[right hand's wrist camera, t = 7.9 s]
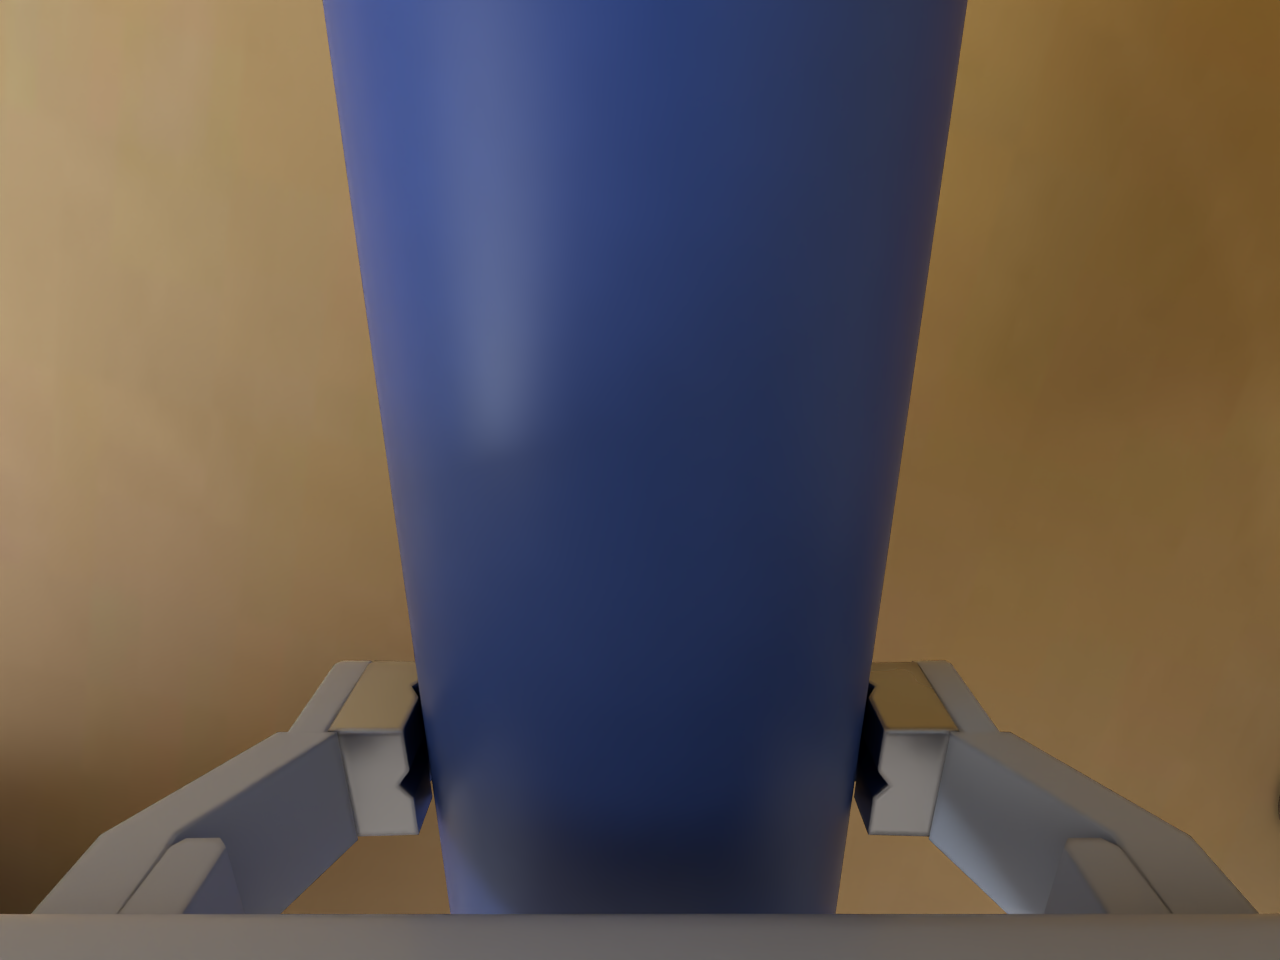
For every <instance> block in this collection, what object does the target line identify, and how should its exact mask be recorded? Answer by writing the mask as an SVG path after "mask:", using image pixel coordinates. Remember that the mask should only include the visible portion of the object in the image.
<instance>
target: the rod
mask: <svg viewBox="0 0 1280 960" xmlns="http://www.w3.org/2000/svg"><path fill="white" fill-rule="evenodd" d="M323 6H324V13H325V21H326V28H327V35H328V42H329V49H330V56H331V63H332V71H333V78H334V85H335V92H336V99H337V106H338V113H339V120H340V128H341V135H342V142H343V149H344V156H345V163H346V170H347V178H348V185H349V192H350V199H351V206H352V213H353V220H354V227H355V235H356V242H357V249H358V256H359V263H360V270H361V277H362V285H363V292H364V299H365V306H366V313H367V320H368V327H369V334H370V342H371V349H372V356H373V363H374V370H375V377H376V384H377V392H378V399H379V406H380V413H381V420H382V427H383V434H384V441H385V449H386V456H387V463H388V470H389V477H390V484H391V491H392V499H393V506H394V513H395V520H396V527H397V534H398V541H399V548H400V556H401V563H402V570H403V577H404V584H405V591H406V598H407V606H408V613H409V620H410V627H411V634H412V641H413V648H414V655H415V663H416V670H417V677H418V684H419V691H420V698H421V705H422V713H423V720H424V727H425V734H426V741H427V748H428V755H429V762H430V770H431V777H432V784H433V791H434V798H435V805H436V812H437V820H438V827H439V834H440V841H441V848H442V855H443V862H444V869H445V877H446V884H447V891H448V898H449V905H450V912H451V914H835V913H836V906H837V899H838V892H839V885H840V878H841V871H842V864H843V858H844V851H845V844H846V837H847V830H848V823H849V816H850V809H851V802H852V795H853V788H854V782H855V775H856V768H857V761H858V754H859V747H860V740H861V733H862V726H863V719H864V712H865V705H866V699H867V692H868V685H869V678H870V671H871V664H872V657H873V650H874V643H875V636H876V629H877V623H878V616H879V609H880V602H881V595H882V588H883V581H884V574H885V567H886V560H887V553H888V546H889V540H890V533H891V526H892V519H893V512H894V505H895V498H896V491H897V484H898V477H899V470H900V464H901V457H902V450H903V443H904V436H905V429H906V422H907V415H908V408H909V401H910V394H911V388H912V381H913V374H914V367H915V360H916V353H917V346H918V339H919V332H920V325H921V318H922V311H923V305H924V298H925V291H926V284H927V277H928V270H929V263H930V256H931V249H932V242H933V235H934V229H935V222H936V215H937V208H938V201H939V194H940V187H941V180H942V173H943V166H944V159H945V152H946V146H947V139H948V132H949V125H950V118H951V111H952V104H953V97H954V90H955V83H956V76H957V70H958V63H959V56H960V49H961V42H962V35H963V28H964V21H965V14H966V7H967V0H323Z"/></svg>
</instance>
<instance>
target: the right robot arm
mask: <svg viewBox="0 0 1280 960" xmlns="http://www.w3.org/2000/svg"><path fill="white" fill-rule="evenodd" d="M431 780H432V777H431V770H430V762H429V755H428V748H427V741H426V734H425V727H424V720H423V713H422V705H421V698H420V691H419V684H418V677H417V670H416V663H415V661H340V662H338V663H336V664H335V665H334V666H333V667H332V668H331V670H330V671H329V673H328V674H327V676H326V677H325V679H324V680H323V682H322V683H321V684H320V686H319V687H318V689H317V690H316V692H315V693H314V695H313V696H312V697H311V699H310V700H309V702H308V703H307V705H306V706H305V708H304V709H303V711H302V712H301V713H300V715H299V716H298V718H297V719H296V721H295V722H294V724H293V725H292V727H291V728H290V729H289V731H288V732H277V733H275V734H273V735H271V736H270V737H268V738H266V739H265V740H263V741H261V742H259V743H258V744H256V745H254V746H253V747H251V748H249V749H247V750H246V751H244V752H242V753H240V754H239V755H237V756H235V757H234V758H232V759H230V760H228V761H227V762H225V763H223V764H221V765H220V766H218V767H216V768H215V769H213V770H211V771H209V772H208V773H206V774H204V775H202V776H201V777H199V778H197V779H196V780H194V781H192V782H190V783H189V784H187V785H185V786H184V787H182V788H180V789H178V790H177V791H175V792H173V793H171V794H170V795H168V796H166V797H165V798H163V799H161V800H159V801H158V802H156V803H154V804H152V805H151V806H149V807H147V808H146V809H144V810H142V811H140V812H139V813H137V814H135V815H133V816H132V817H130V818H128V819H127V820H125V821H123V822H121V823H120V824H118V825H116V826H115V827H113V828H111V829H109V830H108V831H106V832H104V833H102V834H101V835H100V836H99V837H98V838H97V839H96V840H95V841H94V842H93V844H92V845H91V846H90V847H89V848H88V849H87V850H86V852H85V853H84V854H83V855H82V856H81V857H80V858H79V860H78V861H77V862H76V863H75V864H74V865H73V866H72V868H71V869H70V870H69V871H68V872H67V873H66V874H65V875H64V877H63V878H62V879H61V880H60V881H59V882H58V883H57V885H56V886H55V887H54V888H53V889H52V890H51V891H50V893H49V894H48V895H47V896H46V897H45V898H44V899H43V901H42V902H41V903H40V904H39V905H38V906H37V907H36V909H35V910H34V911H33V912H32V913H31V914H0V960H1280V914H1259V913H1258V912H1257V911H1256V909H1255V908H1254V907H1253V906H1252V905H1251V904H1250V903H1249V902H1248V900H1247V899H1246V898H1245V897H1244V896H1243V895H1242V894H1241V893H1240V891H1239V890H1238V889H1237V888H1236V887H1235V886H1234V885H1233V884H1232V882H1231V881H1230V880H1229V879H1228V878H1227V877H1226V876H1225V875H1224V873H1223V872H1222V871H1221V870H1220V869H1219V868H1218V867H1217V865H1216V864H1215V863H1214V862H1213V861H1212V860H1211V859H1210V858H1209V856H1208V855H1207V854H1206V853H1205V852H1204V851H1203V850H1202V849H1201V847H1200V846H1199V845H1198V844H1197V843H1196V842H1195V841H1194V840H1193V838H1192V837H1191V836H1190V835H1188V834H1186V833H1184V832H1183V831H1181V830H1179V829H1177V828H1176V827H1174V826H1172V825H1170V824H1169V823H1167V822H1165V821H1163V820H1162V819H1160V818H1158V817H1157V816H1155V815H1153V814H1151V813H1150V812H1148V811H1146V810H1144V809H1143V808H1141V807H1139V806H1137V805H1136V804H1134V803H1132V802H1131V801H1129V800H1127V799H1125V798H1124V797H1122V796H1120V795H1118V794H1117V793H1115V792H1113V791H1111V790H1110V789H1108V788H1106V787H1104V786H1103V785H1101V784H1099V783H1098V782H1096V781H1094V780H1092V779H1091V778H1089V777H1087V776H1085V775H1084V774H1082V773H1080V772H1078V771H1077V770H1075V769H1073V768H1072V767H1070V766H1068V765H1066V764H1065V763H1063V762H1061V761H1059V760H1058V759H1056V758H1054V757H1052V756H1051V755H1049V754H1047V753H1045V752H1044V751H1042V750H1040V749H1039V748H1037V747H1035V746H1033V745H1032V744H1030V743H1028V742H1026V741H1025V740H1023V739H1021V738H1019V737H1018V736H1016V735H1014V734H1012V733H1011V732H999V730H998V729H997V728H996V726H995V725H994V723H993V722H992V721H991V719H990V718H989V716H988V715H987V714H986V712H985V711H984V709H983V708H982V706H981V705H980V704H979V702H978V701H977V699H976V698H975V697H974V695H973V694H972V692H971V691H970V690H969V688H968V687H967V685H966V684H965V683H964V681H963V680H962V678H961V677H960V675H959V674H958V673H957V671H956V670H955V668H954V667H953V666H952V664H951V663H949V662H947V661H946V660H931V661H912V662H872V664H871V671H870V678H869V685H868V692H867V699H866V705H865V712H864V719H863V726H862V733H861V740H860V747H859V754H858V761H857V768H856V775H855V781H856V787H855V794H854V798H855V800H856V803H857V806H858V808H859V811H860V814H861V816H862V819H863V822H864V824H865V827H866V829H867V832H868V835H900V836H929V840H930V841H931V842H932V843H933V844H934V845H935V846H937V847H938V848H939V849H940V850H941V851H942V852H943V853H944V854H945V855H946V856H947V857H948V858H949V859H950V860H951V861H952V862H953V863H954V864H956V865H957V866H958V867H959V868H960V869H961V870H962V871H963V872H964V873H965V874H966V875H967V876H968V877H969V878H970V879H971V880H972V881H973V882H974V883H976V884H977V885H978V886H979V887H980V888H981V889H982V890H983V891H984V892H985V893H986V894H987V895H988V896H989V897H990V898H991V899H992V900H993V901H995V902H996V903H997V904H998V905H999V906H1000V907H1001V908H1002V909H1003V910H1004V911H1005V912H1006V913H1007V914H281V913H282V912H283V911H284V910H285V909H286V908H287V907H288V906H289V905H290V904H291V903H292V902H293V901H294V900H295V899H296V898H297V897H298V896H300V895H301V894H302V893H303V892H304V891H305V890H306V889H307V888H308V887H309V886H310V885H311V884H312V883H313V882H314V881H315V880H316V879H317V878H318V877H319V876H320V875H321V874H323V873H324V872H325V871H326V870H327V869H328V868H329V867H330V866H331V865H332V864H333V863H334V862H335V861H336V860H337V859H338V858H339V857H340V856H341V855H342V854H343V853H345V852H346V851H347V850H348V849H349V848H350V847H351V846H352V845H353V844H354V843H355V842H356V841H357V840H358V837H357V836H386V835H419V832H420V829H421V826H422V824H423V821H424V818H425V815H426V813H427V810H428V807H429V804H430V802H431V799H432V791H431V783H430V781H431Z"/></svg>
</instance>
